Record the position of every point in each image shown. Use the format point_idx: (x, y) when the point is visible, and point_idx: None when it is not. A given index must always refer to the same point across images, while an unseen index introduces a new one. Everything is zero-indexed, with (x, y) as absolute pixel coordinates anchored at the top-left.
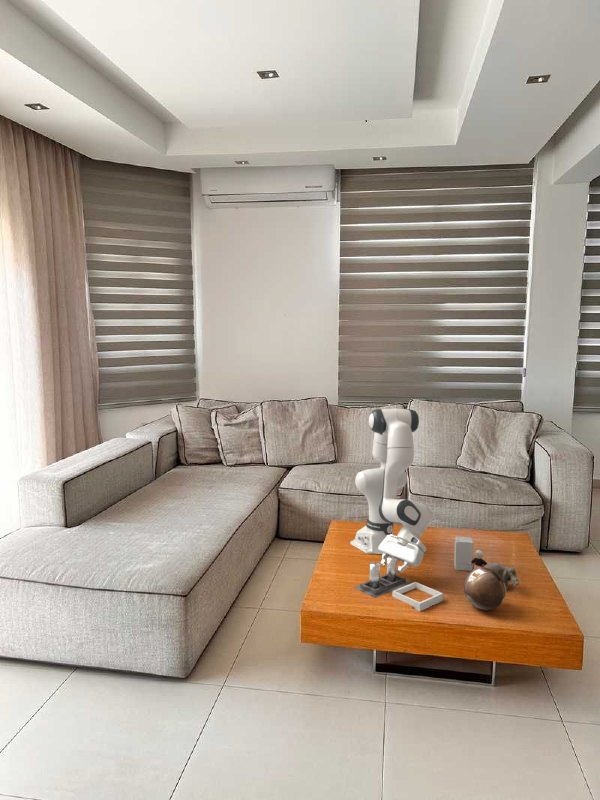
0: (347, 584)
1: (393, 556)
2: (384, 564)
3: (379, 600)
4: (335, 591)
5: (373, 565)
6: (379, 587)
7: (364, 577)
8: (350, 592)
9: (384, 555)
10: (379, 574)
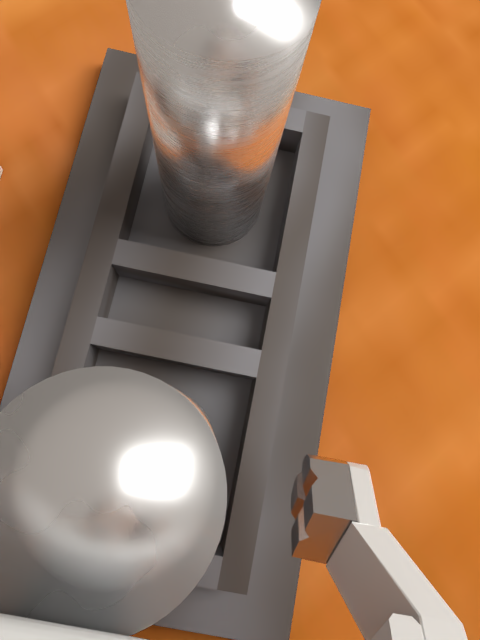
0: (463, 181)
1: (116, 632)
2: (296, 490)
3: (81, 85)
4: (445, 28)
5: None
6: (165, 203)
7: (452, 400)
8: (349, 75)
9: (397, 623)
10: (147, 110)
